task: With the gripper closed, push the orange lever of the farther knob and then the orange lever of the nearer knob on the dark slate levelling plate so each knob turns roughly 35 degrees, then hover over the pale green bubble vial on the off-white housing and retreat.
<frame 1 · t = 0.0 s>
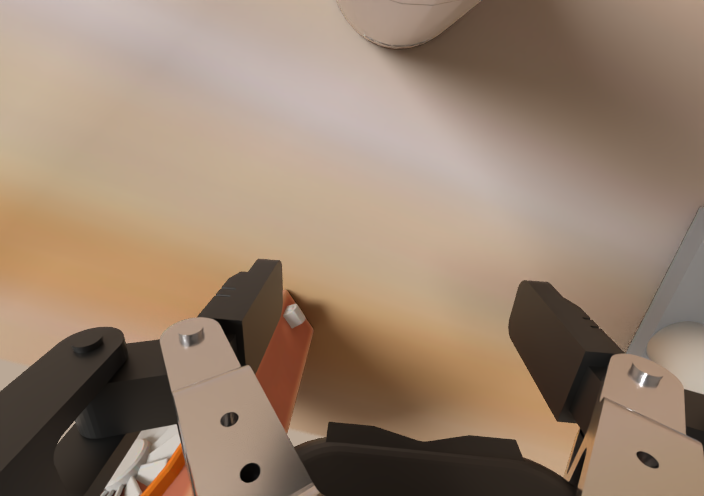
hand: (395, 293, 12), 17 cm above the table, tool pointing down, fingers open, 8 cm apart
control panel: (249, 330, 35), on the table
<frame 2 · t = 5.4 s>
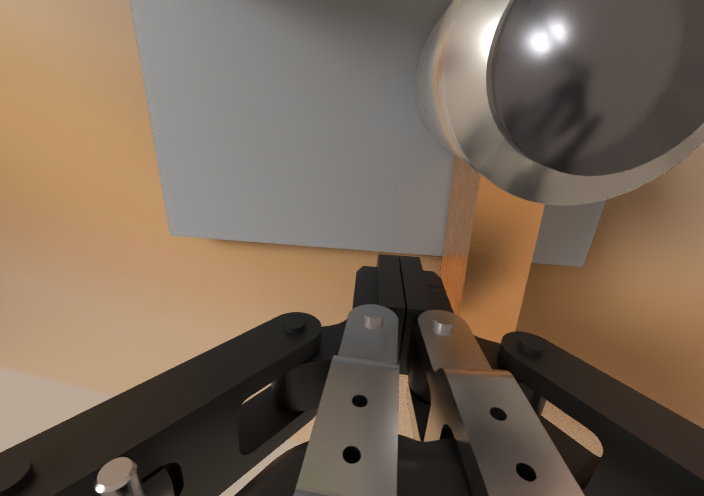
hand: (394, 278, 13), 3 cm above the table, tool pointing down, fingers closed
knob 1: (505, 213, 10), point 5 cm above the table, hinge at 2.6°, touching gripper
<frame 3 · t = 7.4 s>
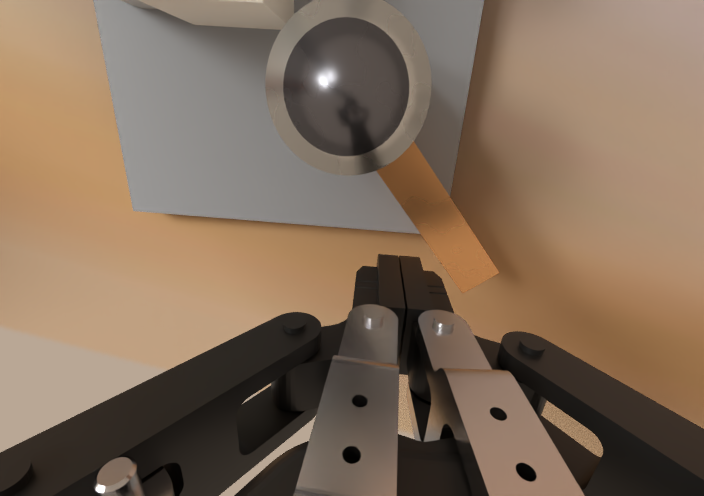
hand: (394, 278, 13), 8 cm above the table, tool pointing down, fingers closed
knob 1: (405, 171, 14), point 5 cm above the table, hinge at 40.1°
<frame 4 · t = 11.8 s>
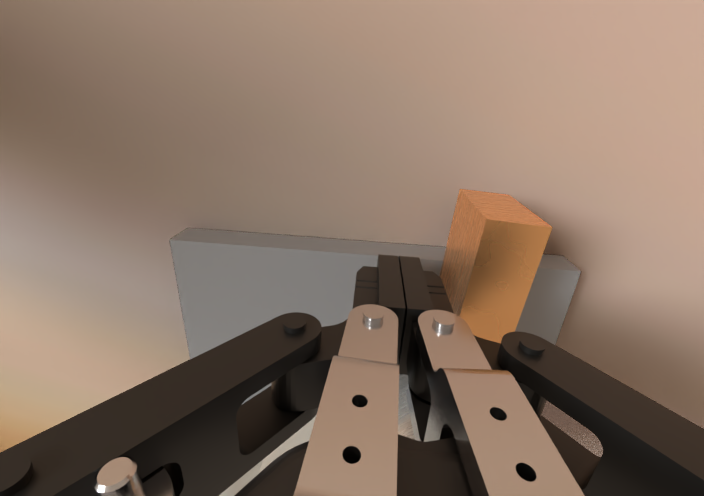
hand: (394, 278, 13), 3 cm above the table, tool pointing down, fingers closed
knob 2: (465, 382, 12), point 5 cm above the table, hinge at -3.3°, touching gripper
levelling plate: (355, 429, 20), on the table
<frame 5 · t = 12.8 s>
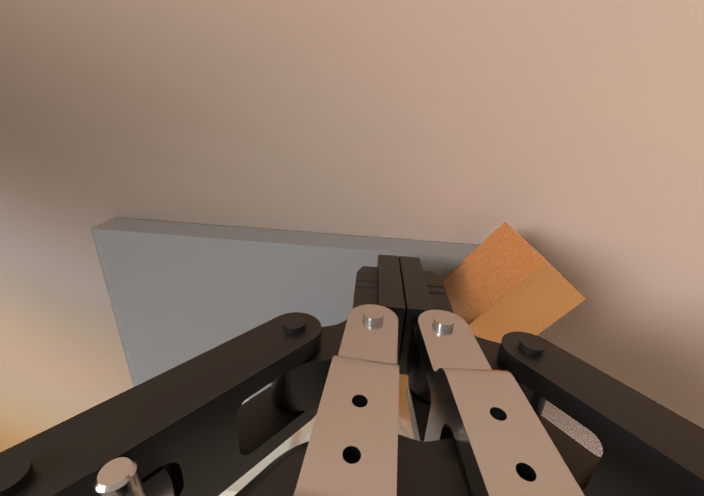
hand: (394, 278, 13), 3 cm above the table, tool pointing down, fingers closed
knob 2: (419, 389, 12), point 5 cm above the table, hinge at -36.4°, touching gripper
levelling plate: (298, 420, 21), on the table
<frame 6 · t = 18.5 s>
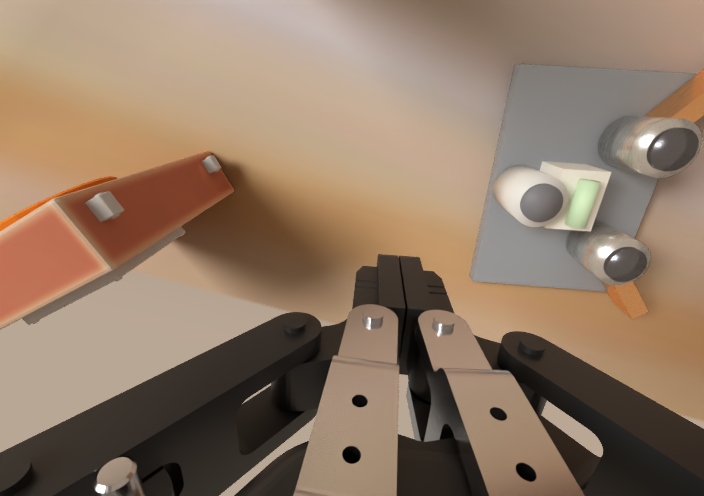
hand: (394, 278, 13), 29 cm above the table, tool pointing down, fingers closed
knob 2: (684, 117, 31), point 5 cm above the table, hinge at -41.3°
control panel: (183, 193, 43), on the table
knob 1: (619, 276, 38), point 5 cm above the table, hinge at 40.1°
levelling plate: (564, 188, 39), on the table
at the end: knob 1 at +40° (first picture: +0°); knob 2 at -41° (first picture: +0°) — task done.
